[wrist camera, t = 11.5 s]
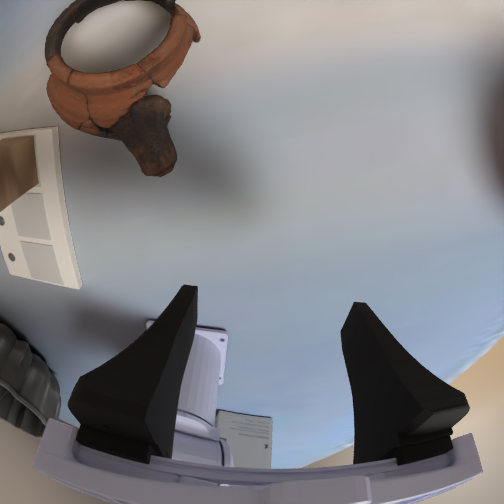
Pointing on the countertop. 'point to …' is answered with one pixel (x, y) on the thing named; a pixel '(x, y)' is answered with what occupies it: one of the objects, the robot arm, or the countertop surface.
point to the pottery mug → (122, 88)
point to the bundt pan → (26, 386)
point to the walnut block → (16, 168)
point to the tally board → (40, 220)
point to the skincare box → (246, 439)
